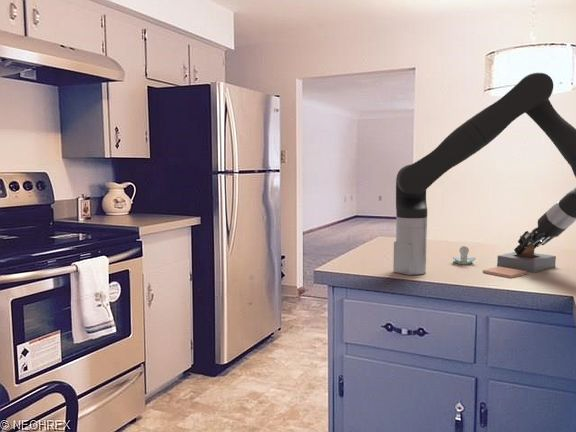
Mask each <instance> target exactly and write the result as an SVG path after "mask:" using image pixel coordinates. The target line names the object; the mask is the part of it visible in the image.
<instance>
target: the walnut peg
mask: <svg viewBox="0 0 576 432" xmlns="http://www.w3.org/2000/svg"><path fill="white" fill-rule="evenodd" d="M522 235H523V234H521V235H519V239H520V238H521V236H522ZM532 241H533V239H532ZM533 242H534V241H533ZM535 249H536V248H535V244H534V245H530V246H529V247H527V248H526V249H525V250H524V251H523V252H522V253H521V254H519V257H525V258H534V253H535Z"/></svg>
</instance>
